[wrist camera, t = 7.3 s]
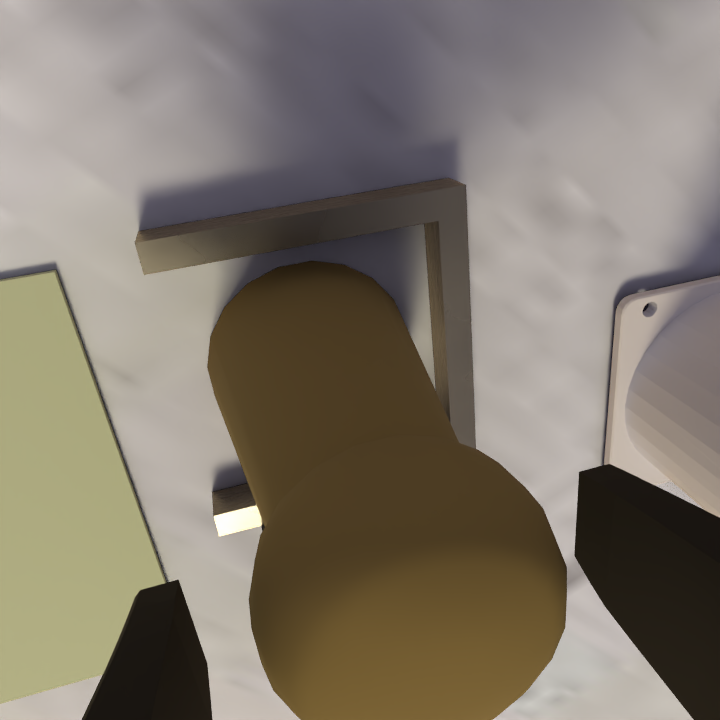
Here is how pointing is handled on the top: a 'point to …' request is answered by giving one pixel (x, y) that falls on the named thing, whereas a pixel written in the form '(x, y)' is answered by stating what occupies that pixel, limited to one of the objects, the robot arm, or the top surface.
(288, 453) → the brown pepper mill
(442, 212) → the socket
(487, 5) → the top surface
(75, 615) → the mat
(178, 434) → the top surface
